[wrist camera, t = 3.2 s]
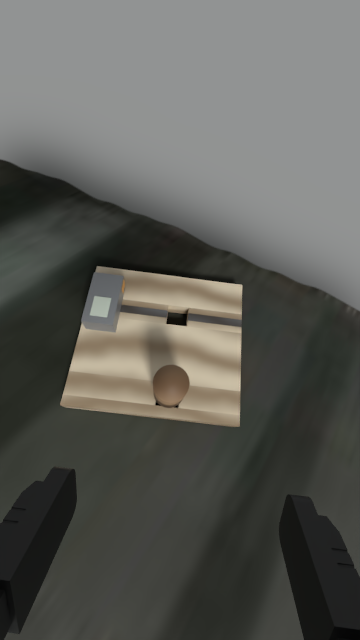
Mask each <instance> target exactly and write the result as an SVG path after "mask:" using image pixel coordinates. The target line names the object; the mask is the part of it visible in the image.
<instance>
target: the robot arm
mask: <svg viewBox="0 0 360 640" xmlns="http://www.w3.org/2000/svg"><path fill="white" fill-rule="evenodd" d="M76 502H77V493H76V475H75V470H74V469H70V468H62V467H53V468H52V469H51V471H50V472H49V474H48V476H47V477H46V479H45V480H44V482H42V481H35V482H34V483H33V484H31V485H30V486H29V487H28V488H27V489H25V490H24V491H23V492H22V493H21V495H20V496H19V498H18V499H17V500H16V502H15V503H14V505H13V506H12V509H11V510H10V511H9V512H8V514H7V515H6V516H5V518H4V519H3V522H2V523H1V524H0V640H4V638H5V636H6V634H7V632H9V633H15V634H20V632H21V630H22V627H23V625H24V623H25V621H26V618H27V616H28V614H29V612H30V610H31V607H32V605H33V603H34V601H35V599H36V596H37V594H38V592H39V590H40V588H41V585H42V583H43V581H44V579H45V577H46V574H47V572H48V570H49V568H50V565H51V563H52V561H53V559H54V557H55V554H56V552H57V550H58V548H59V546H60V543H61V541H62V539H63V537H64V535H65V532H66V530H67V528H68V526H69V524H70V521H71V519H72V517H73V514H74V511H75V507H76ZM279 537H280V543H281V548H282V552H283V556H284V560H285V564H286V568H287V572H288V576H289V580H290V584H291V588H292V592H293V596H294V600H295V604H296V608H297V613H298V617H299V621H300V625H301V629H302V633H303V637H304V640H360V577H359V575H358V573H357V570H356V569H355V568H354V564H353V562H352V559H351V557H350V555H349V554H348V552H347V548H346V546H345V544H344V542H343V539H342V537H341V535H340V533H339V531H338V530H337V529H336V527H335V526H334V525H333V524H332V523H331V521H330V520H329V519H328V518H327V516H320V515H318V514H317V512H316V509H315V507H314V504H313V502H312V500H311V498H310V497H305V496H297V495H289V494H288V495H287V496H286V500H285V504H284V508H283V512H282V516H281V519H280V524H279Z"/></svg>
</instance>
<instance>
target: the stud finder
mask: <svg viewBox="0 0 360 640" xmlns="http://www.w3.org/2000/svg"><path fill="white" fill-rule="evenodd" d="M124 291H125V281H124V276H121V275H113V274H105V273H98V272H94V274H93V278H92V282H91V285H90V289H89V293H88V297H87V300H86V304H85V308H84V311H83V315H82V319H81V322H82V323H83V325H84V327H85V328H86V329H91V330H99V331H107V332H115V333H116V329H117V324H118V320H119V315H120V309H121V305H122V301H123V296H124Z"/></svg>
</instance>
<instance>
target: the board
mask: <svg viewBox="0 0 360 640" xmlns="http://www.w3.org/2000/svg"><path fill="white" fill-rule="evenodd" d="M96 272H98V273H105V274H113V275H121V276H124V281H125V291H124V296H123V301H122V305H121V309H120V315H119V320H118V324H117V329H116V333H115V332H107V331H99V330H91V329H86V328H85V327H84V325H83V323H82V325H81V328H80V332H79V336H78V340H77V343H76V347H75V351H74V355H73V358H72V362H71V366H70V370H69V374H68V377H67V381H66V385H65V389H64V392H63V396H62V400H61V404H60V405H61V406H63V407H67V408H76V409H84V410H93V411H102V412H110V413H119V414H128V415H136V416H145V417H153V418H162V419H171V420H179V421H188V422H197V423H205V424H214V425H222V426H231V427H237V426H240V378H241V327H242V285H239V284H231V283H223V282H216V281H208V280H200V279H193V278H185V277H177V276H170V275H162V274H154V273H147V272H139V271H131V270H124V269H116V268H108V267H101V266H97V268H96ZM168 312H173V313H181V314H187V322H186V326H179V325H172V324H166V323H167V316H168ZM166 365H177V366H179V367H181V368H182V369H184V370H185V371H186V373H187V375H188V377H189V382H190V385H189V389H188V392H187V393H186V395H185V397H184V398H183V400H182V401H181V403H180V404H179V405H178V408H174V407H173V408H165V407H162V406H157V405H156V400H155V398H154V392H153V378H154V376H155V374H156V372H157V371H158V370H159V369H160V368H161V367H163V366H166Z"/></svg>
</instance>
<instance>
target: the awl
mask: <svg viewBox="0 0 360 640" xmlns="http://www.w3.org/2000/svg"><path fill="white" fill-rule="evenodd" d="M189 385H190V382H189V377H188V375H187V373H186V371H185V370H184V369H182V368H181V367H179V366H177V365H166V366H163V367H161V368H160V369H159V370H158V371H157V372H156V374H155V376H154V378H153V392H154V398H155V400H156V402H157V403H158V404H159V405H161V406H162V407H165V408H173V407H175V406H177V405H179V404H180V403H181V401H182V400H183V398H184V397H185V395H186V393H187V392H188V389H189Z"/></svg>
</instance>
